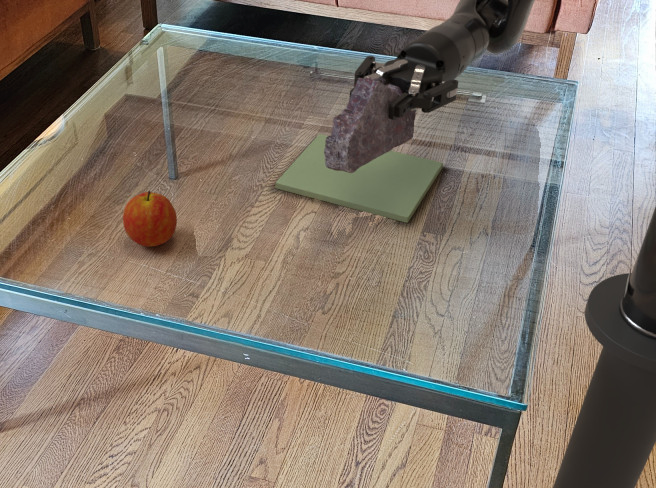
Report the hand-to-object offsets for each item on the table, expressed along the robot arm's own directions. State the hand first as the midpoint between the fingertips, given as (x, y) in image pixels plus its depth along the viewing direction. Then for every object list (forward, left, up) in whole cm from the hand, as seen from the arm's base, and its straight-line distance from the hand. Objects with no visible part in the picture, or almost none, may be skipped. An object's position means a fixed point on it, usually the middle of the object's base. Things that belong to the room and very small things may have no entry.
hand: (372, 106), depth 105 cm
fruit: (+23, +18, -17) cm, 34 cm away
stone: (0, 0, -6) cm, 6 cm away
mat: (+4, -9, -17) cm, 20 cm away
